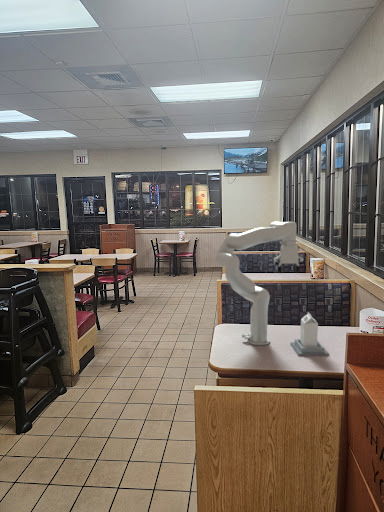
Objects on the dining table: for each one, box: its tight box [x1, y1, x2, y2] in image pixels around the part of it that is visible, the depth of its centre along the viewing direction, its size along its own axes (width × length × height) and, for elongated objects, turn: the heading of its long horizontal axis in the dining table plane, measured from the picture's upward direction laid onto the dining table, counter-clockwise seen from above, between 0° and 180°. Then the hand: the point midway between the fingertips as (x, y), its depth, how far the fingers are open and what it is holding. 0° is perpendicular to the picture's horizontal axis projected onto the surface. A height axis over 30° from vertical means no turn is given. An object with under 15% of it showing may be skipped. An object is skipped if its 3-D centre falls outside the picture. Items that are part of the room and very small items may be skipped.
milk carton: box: [299, 311, 319, 347], centre depth 191 cm, size 7×7×19 cm
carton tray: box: [289, 338, 330, 357], centre depth 192 cm, size 16×15×4 cm
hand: (288, 272), depth 206 cm, fingers open, 9 cm apart
